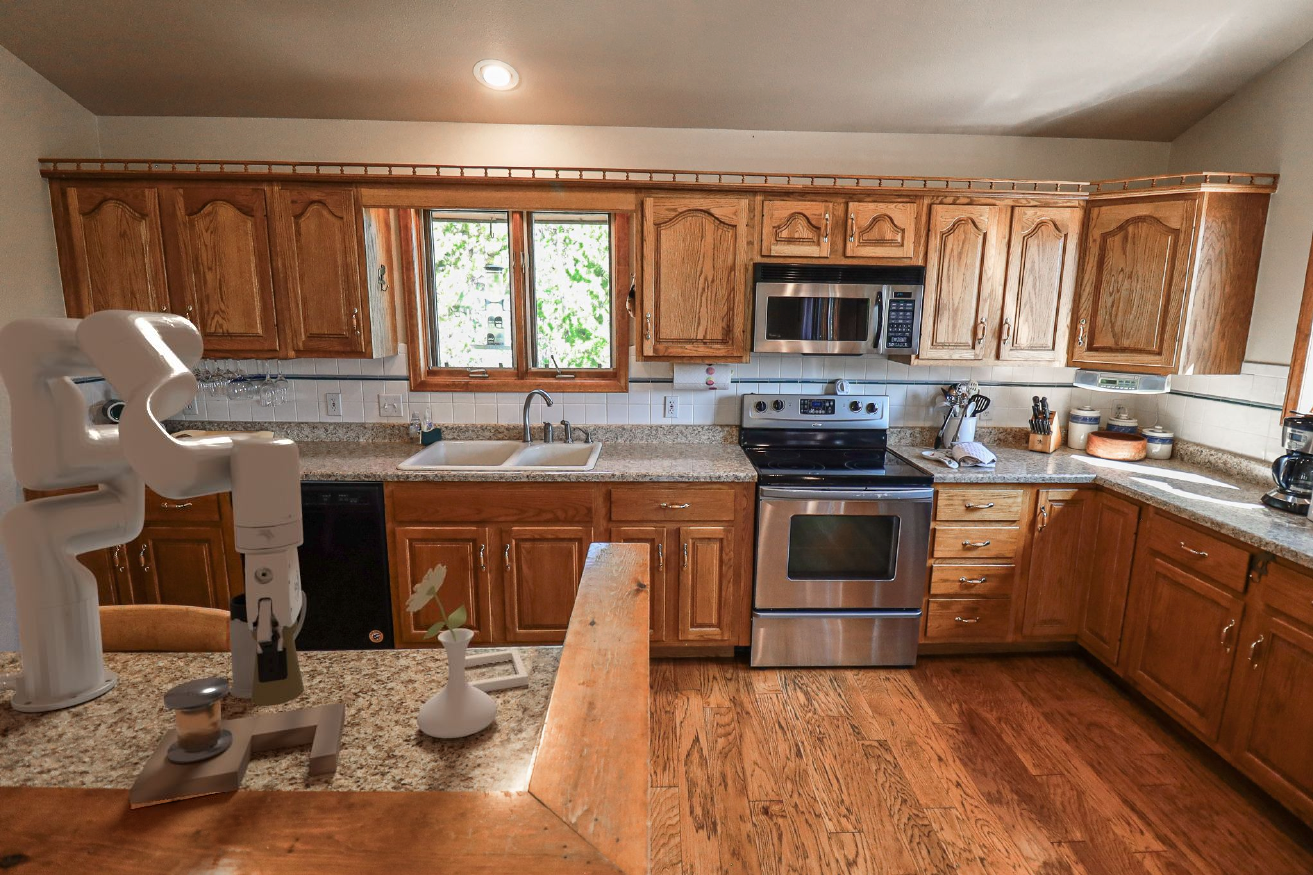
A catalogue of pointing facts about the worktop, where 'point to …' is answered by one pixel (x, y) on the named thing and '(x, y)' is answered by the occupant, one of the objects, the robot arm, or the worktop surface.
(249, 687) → the glass holder
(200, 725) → the bobbin
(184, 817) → the worktop surface
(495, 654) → the rectangular frame
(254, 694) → the cork
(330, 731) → the notched board
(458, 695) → the flower in vase
